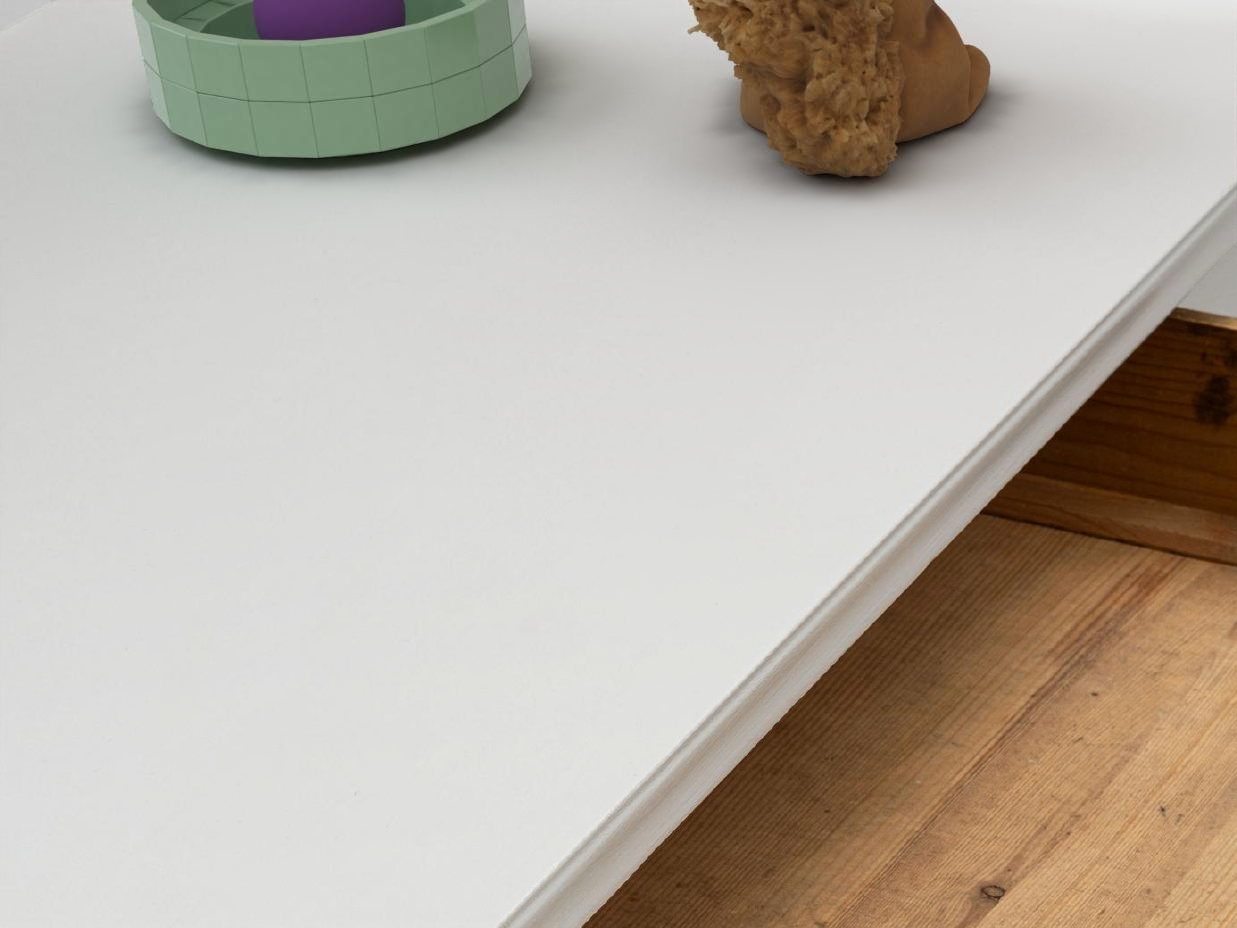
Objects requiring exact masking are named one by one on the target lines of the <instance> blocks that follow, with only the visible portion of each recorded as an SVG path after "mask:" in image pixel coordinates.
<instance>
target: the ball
mask: <svg viewBox="0 0 1237 928" xmlns="http://www.w3.org/2000/svg"><path fill="white" fill-rule="evenodd" d="M253 14H254V22H255V26H256V30H257V32H258V35H259V37H260V40H293V41H304V40H314V39H325V38H336V37H347V36H357V35H364V34H369V33H374V32H378V31H383V30H388V29H393V28H398V27H402V26H405V18H406V14H405V4H404V0H253Z"/></svg>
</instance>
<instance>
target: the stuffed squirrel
mask: <svg viewBox="0 0 1237 928" xmlns="http://www.w3.org/2000/svg"><path fill="white" fill-rule="evenodd" d="M687 2H688V5H689V6H692V8H691V9H692V11H693V15H694V17H696V18H695V19H696V22H697V23H698V24H696V25H694V26H692V27H690V28H689V29H687V30H686V32H687V34H688V35H692V34H693V33H698V32H699V31H700V32H701V33H703V34H705V36H706V37H708V38H710V39H712V41H713V42H715V43H717V44H716V46H717V47H718V50H719V51H723V52H725V53H726V54H728V56H727V57H728V58H727V60H728V61H729V62H733V64H734V65H733V76H734V78H737V80H741V84H740V96H739V112H740V114H741V118H742V119H743V120H744V122H746V123H747V124H749V125H750V126H751V127H753V128H755V129H756V130H759V131H762V132H763V133H765V134H766V136H767V140H768V141H767V143H768V144H767V145H766V146H767V147H768V148H769V149H770V150H773V151H777V152H779V155H780V157H781V159H780V160H779V162H781V163H784V164H786V165H787V166H790V167H796V169H798V170H799V171H800V173H802V174H805V175H809V176H813V175H822V174H830V175H837V176H839V177H843V178H851V177H854V176H856V177H870V178H871V177H872V178H873V177H878V176H879V177H880V176H881V175H882V174H883V173H887V170H889V163H891V162H892V161H893V162H895V157H898V153H897V151H898V149H899V147H898V146H897V145H896V144H898V143H903V142H910V141H913V140H918V139H920V138H923V137H926V136H929V135H932V134H934V133H937V132H940V131H943V130H945V129H948V128H951V127H953V126H956V125H959V124H961V123H963V122H965V121H966V120H968V119H969V118H970V117H971V116H972V115H973V113H974V112H975V111H976V109H977V108H978V107H979V105H980V104H981V102H982V100H983V99H984V96H985V95H986V93H987V92H988V88H989V85H990V77H991V62H990V61H989V59H988V57H987V55H986V54H985V53H984V51H982V50H981V49H980V48H979V47H977V46H976V45H972V44H965V43H964V40H963V38H962V36H961V35H960V32H959V30H958V28H957V27H956V25H955V23H954V22H953V20H952V19H951V17H950V16H949V15H948V13H946V12H945V10H943V8H941V7H940V5H939V4H937V2H936V1H935V0H687Z"/></svg>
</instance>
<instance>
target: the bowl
mask: <svg viewBox="0 0 1237 928" xmlns="http://www.w3.org/2000/svg"><path fill="white" fill-rule="evenodd" d="M404 4H405V14H406V18H405V26H402V27H398V28H393V29H388V30H383V31H378V32H374V33H369V34H364V35H357V36H347V37H336V38H325V39H314V40H304V41H293V40H260V37H259V35H258V32H257V30H256V26H255V22H254V14H253V0H131V8H132V13H133V18H134V23H135V27H136V32H137V37H138V40H139V46H140V51H141V56H142V59H143V60H142V61H143V66H144V70H145V75H146V80H147V85H148V91H149V94H150V99H151V104H152V108H153V112H154V114H155V115H156V116H157V117H158V118H159V119H160V120H161V121H162V123H163V124H164V125H165V126H166V127H167V128H168V129H169V131H171V132H172V133H173V134H175V135H178V136H180V137H182V138H185V139H187V140H189V141H192V142H194V143H197V144H199V145H201V146H203V147H206V148H211V149H216V150H222V151H227V152H233V153H239V154H244V155H250V156H256V157H268V158H269V157H270V158H305V159H307V158H308V159H310V158H312V159H319V158H337V157H338V158H339V157H351V156H359V155H360V156H361V155H368V154H375V153H380V152H387V151H392V150H396V149H400V148H406V147H410V146H412V145H417V144H421V143H426V142H430V141H434V140H439V139H442V138H445V137H447V136H450V135H451V134H455V133H457V132H459V131H463V130H465V129H467V128H470V127H473V126H475V125H478V124H479V123H483V122H486V121H487V120H489V119H490V118H492V117H493V116H495V115H496V114H498V113H499V112H501V111H502V110H504V109H505V108H506V107H508V106H509V105H511V104H513V103H514V102H516V101H517V100H519V98H520V97H521V95H522V94H523V91H524V90H525V89H526V87H527V85H528V83H529V82H530V80H531V79H532V76H533V70H532V61H531V54H530V45H529V35H528V25H527V17H526V9H525V0H404Z"/></svg>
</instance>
